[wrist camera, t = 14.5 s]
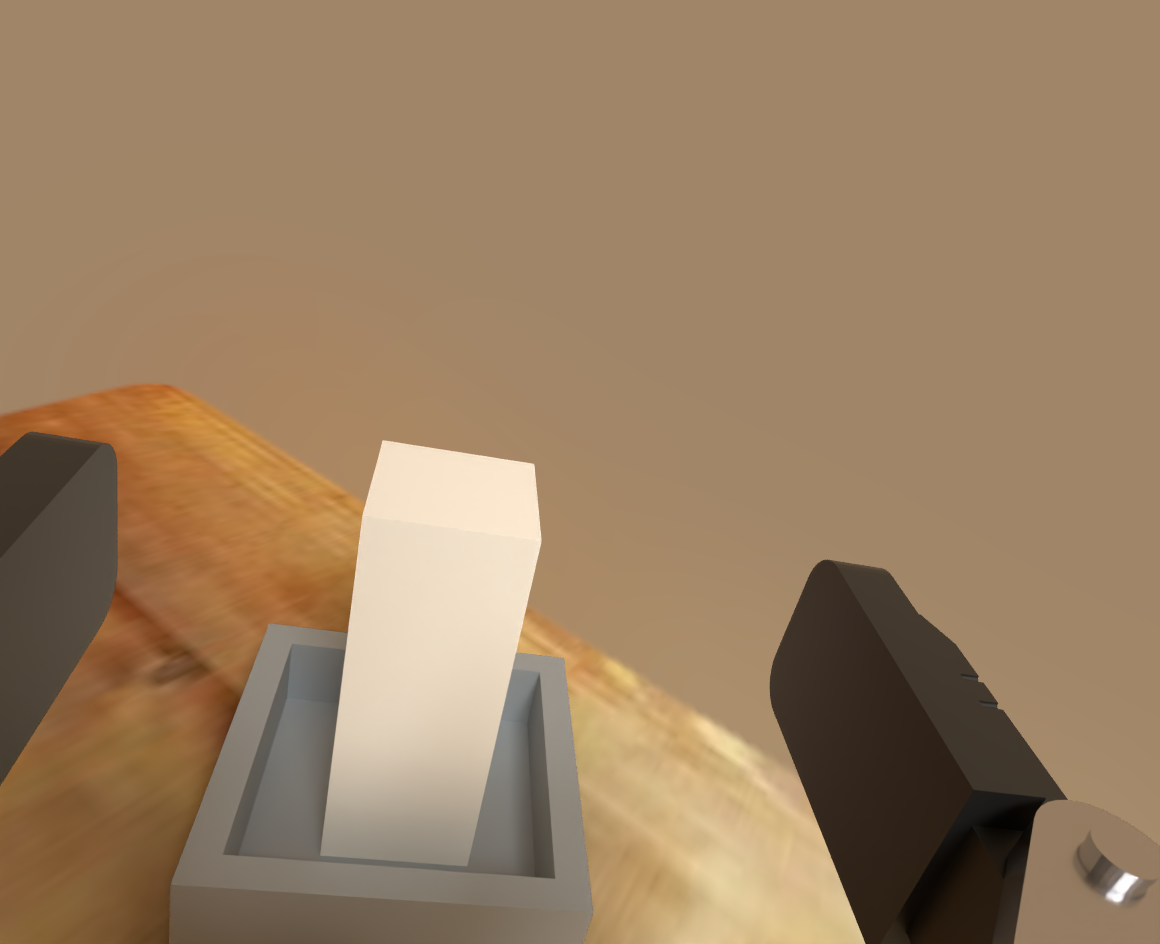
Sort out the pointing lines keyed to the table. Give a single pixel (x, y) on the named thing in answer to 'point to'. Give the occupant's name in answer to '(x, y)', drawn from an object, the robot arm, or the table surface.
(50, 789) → the table surface
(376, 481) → the cream block
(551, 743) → the tray
